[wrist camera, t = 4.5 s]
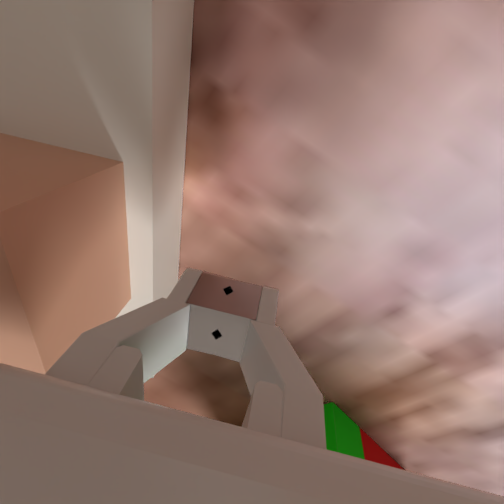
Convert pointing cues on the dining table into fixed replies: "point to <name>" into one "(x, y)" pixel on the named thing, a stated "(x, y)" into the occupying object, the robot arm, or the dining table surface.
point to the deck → (109, 107)
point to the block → (58, 249)
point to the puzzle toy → (352, 438)
